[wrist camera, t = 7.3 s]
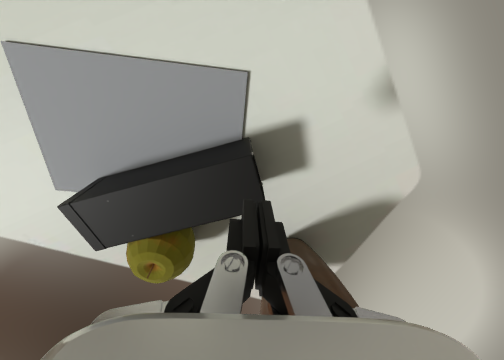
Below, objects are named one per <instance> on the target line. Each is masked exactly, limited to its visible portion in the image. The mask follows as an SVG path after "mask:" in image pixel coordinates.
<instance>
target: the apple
mask: <svg viewBox="0 0 504 360" xmlns="http://www.w3.org/2000/svg"><path fill="white" fill-rule="evenodd" d="M194 248H195V236H194V233H193V230H192V227H191V228H186V229H182V230H178V231H174V232H170V233H166V234H162V235H158V236H154V237H150V238H146V239H141V240H137V241H133V242H129V243H128V244H127V252H126V256H127V262H128V264H129V266H130V268H131V270H132V272H133V273H134V275H135V276H137V277H138V278H140V279H142V280H145V281H147V282H152V283H161V282H166V281H169V280H171V279H173V278H175V277H177V276H179V275H180V274H181V273H182V272H183V271H184V270H185V269H186V268H187V267H188V266H189V265H190V263H191V261H192V259H193V254H194Z"/></svg>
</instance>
